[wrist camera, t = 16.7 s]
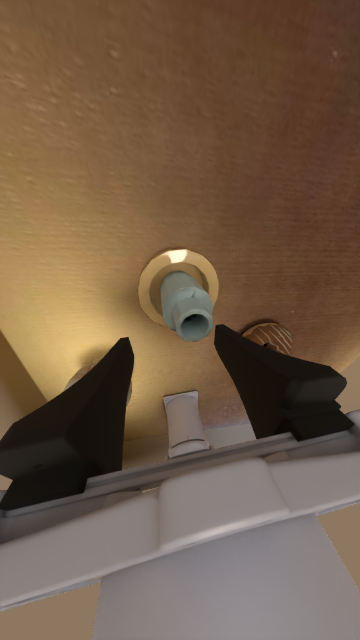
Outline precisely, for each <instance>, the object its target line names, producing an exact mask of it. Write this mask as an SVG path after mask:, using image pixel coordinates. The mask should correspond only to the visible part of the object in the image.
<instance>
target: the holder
mask: <svg viewBox="0 0 360 640" xmlns="http://www.w3.org/2000/svg"><path fill="white" fill-rule="evenodd" d="M176 270H180V271H184V272H186V273H188V274H189V275H191V276H192V277H193V278H194V279H195V280H196V281H197V283H198V284H199V285H200V286H201V287H202V288H203V289H204V290H205V291H206V292H207V293H208V295H209V296H210V298H211V300H212V302H213V306H214V304H215V302H216V300H217V298H218V287H219V281H218V278H217V275H216V272H215V269H214V267H213V266H212V265H211V264H210V263H209V262H208V261H207V260H206V259H205V257H204V256H202V255H200V254H197V253H195V252H192V251H190V250H187V249H184V248H172V249H166V250H164V251H162V252H160V253H158V254H156V255H155V256H153V257H152V258H151V259H150V261H149V262H148V263H147V265H146V266H145V268H144V269H143V271H142V273H141V276H140V281H139V286H138V296H139V300H140V305H141V307H142V309H143V310H144V312H145V313H146V314H147V316H148V317H149V318H150V319H151V320H153V321H154V322H156V323H158V324H159V325H161V326H165V327H168V325H167V324H166V323H165V322H164V320H163V311H162V302H161V292H160V285H161V282H162V279H163V278H164V277H165V276H166V275H167V274H168V273H170V272H172V271H176Z"/></svg>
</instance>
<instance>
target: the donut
mask: <svg viewBox="0 0 360 640" xmlns="http://www.w3.org/2000/svg"><path fill="white" fill-rule="evenodd" d="M242 336H244V337H246V338H248V339H249V340H251V341H253V342H255V343H257V344H260V345H262V346H263V345H264V344H265V343H267V345H266V346H265V347H266V348H269V349H271V350H274V351H277V352H279V353H282V354H285V355H289V353H290V351H291V347H292V337H291V335H290V333H289V331H288V329H287V328H286V327H284V326H282V325H278V324H275V323H263V324H259V325H256V326H254V327H252V328H250V329H248V330H247V331H246V332H245V333H243V334H242Z"/></svg>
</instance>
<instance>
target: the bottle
mask: <svg viewBox="0 0 360 640" xmlns="http://www.w3.org/2000/svg"><path fill="white" fill-rule="evenodd" d="M160 292H161V302H162V311H163V320H164V322H165V323H166V324H167V325H168V327H169V328H170V329H171V330H173V331H176V332H177V335H178V336H179V337H180V338H182V339H183V340H184V341H192V342H197V341H199V340H201V339H203V338H205V337H207V336H208V334H209V333H210V331H211V330H212V329H213V317H212V313H213V302H212V300H211V298H210V296H209V295H208V293H207V292H206V291H205V290H204V289H203V288H202V287H201V286H200V285H199V284H198V283H197V281H196V280H195V279H194V278H193V277H192V276H191V275H189V274H188V273H186V272H184V271H180V270H176V271H172V272H170V273H168V274H167V275H166V276H165V277H164V278H163V279H162V282H161V285H160Z"/></svg>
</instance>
